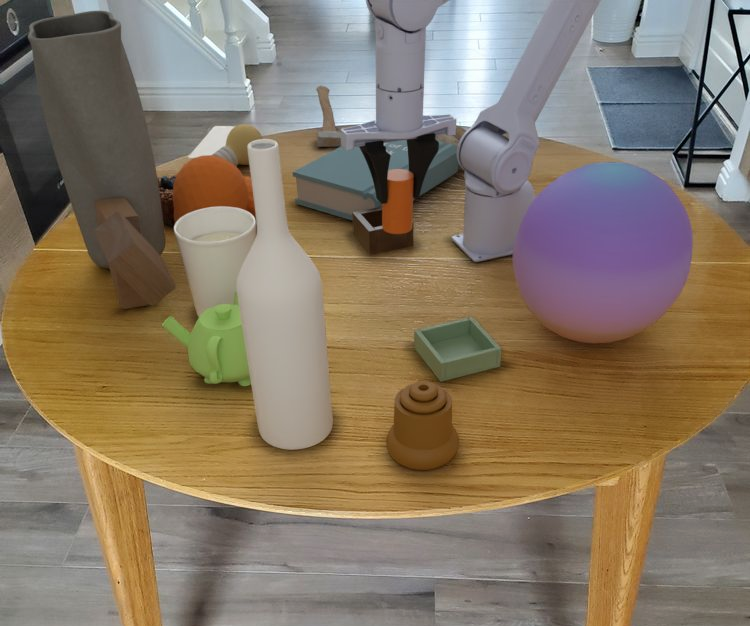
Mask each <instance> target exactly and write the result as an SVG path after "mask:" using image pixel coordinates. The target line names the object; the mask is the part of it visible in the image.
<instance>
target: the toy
mask: <svg viewBox="0 0 750 626" xmlns="http://www.w3.org/2000/svg"><path fill="white" fill-rule="evenodd" d="M176 175H177V177H176V179H175V182H174V185H173V205H174V221H175V223H176V222H177V221H178V220H179V219H180V218H181V217H182V216H184V215H186V214H188V213H190V212H193V211H196V210H199V209H203V208H209V207H220V206H225V207H235V208H240V209H243V210H246V211H248V212H249V213H251V214H252V215H253V216H254V218H255V220H256V213H255V205H254V197H253V189H252V181H251V176H249V175H247V176H244V175H243V173H242V172H241V170H240V168H238V167H237V166H235V165H234V164H233V163H231V162H229V161H227V160H226V159H224V158H220V157H217V156H214V155H206V156H199V157H196V158H191V159H190V160H188V161H187V162H186V163H185V164H183V166H181V168H180V169H179V171H178V172H177V174H176Z"/></svg>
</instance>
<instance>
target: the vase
mask: <svg viewBox="0 0 750 626" xmlns="http://www.w3.org/2000/svg"><path fill="white" fill-rule="evenodd" d="M27 39H28V42H29V43H30V46H31V52H32V59H33V65H34V66H33V67H34V73H35V78H36V85H37V90H38V95H39V99H40V104H41V108H42V112H43V116H44V117H43V118H44V121H45V124H46V128H47V132H48V136H49V138H50V139H49V140H50V142H51V145H52V149H53V152H54V156H55V159H56V162H57V165H58V168H59V171H60V175H61V177H62V180H63V183H64V186H65V189H66V193H67V197H68V199H69V202H70V204H71V207H72V210H73V213H74V216H75V219H76V222H77V224H78V228H79V231H80V233H81V236H82V239H83V242H84V245H85V248H86V251H87V254H88V256H89V258H90V260H91V261H92V263H93V264H94V265H96V266H97V267H100V268H103V269H110V267H109V264H108V261H107V259H106V257H105V255H104V253H103V250H102V248H101V246H100V244H99V242H98V239H97V237H96V235H95V233H94V230H95V229H96V228H97V227H98V221H97V216H96V211H95V206H94V202H95V201H96V200H100V199H108V198H116V197H125V198H126V200H127V201H128V202H129V204H130V205H131V206H132V208H133V209H134V211H135V212H136V213H137V215H138V216H139V220H140V226H141V232H142V236H143V237H144V238H145V239H146V240H147V241H148V243H149V244H150V245H151V246H152V247H153V248H154V249H155V250H156V251H157V252H158V253H159V255H160V256H162V254H163V253H164V250H165V247H166V235H165V234H166V233H165V225H164V224H165V223H164V222H163V215H162V207H161V200H160V193H159V186H158V179H157V178H158V174H157V168H156V162H155V157H154V151H153V147H152V146H153V145H152V143H151V136H150V133H149V128H148V124H147V119H146V116H145V112H144V108H143V105H142V101H141V97H140V93H139V90H138V87H137V83H136V79H135V77H134V73H133V70H132V66H131V64H130V61H129V58H128V55H127V52H126V49H125V47H124V43H123V41H122V40H123V39H122V23H121V21H119V20H117V18H114V15H113V13H112V12H110V11H107V10H88V11H81V12H76V13H71V14H65V15H57V16H51V17H46V18H42V19H38V20H35V21H34V22H33V21H32V23H30V25H29V26H28V34H27Z"/></svg>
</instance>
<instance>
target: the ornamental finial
mask: <svg viewBox="0 0 750 626" xmlns="http://www.w3.org/2000/svg"><path fill="white" fill-rule="evenodd" d="M385 441H386V443H385V444H386V448H387V451H388V453H389V455H390V456H391V457H392V459H393V460H394V461H395V462H396V463H398V464H399V465H400V466H403V467H405V468H408V469H410V470H415V471H416V470H417V471H429V470H435V469H439V468H441V467H443V466H445V465H446V464H448V463H449V462H450V461H452V460H453V458H454V457H455V455H456V454H457V452H458V450H459V445H460V438H459V434H458V431H457V430H456V427H455V426H454V425H453V399H452V395H451V394H450V392H449V391H447V390H446V389H444V388H443V387H442V386H440V385H439V384H436V383H434V382H432V381H429V380H417V381H415V382H413V383H410V384H408V385H406V386H404V387H403V388H402V389H400V390H399V391H398V392H397V394H396V395H395V396H394V407H393V424H392V425H391V427H390V428H389V430H388V432H387V435H386V440H385Z"/></svg>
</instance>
